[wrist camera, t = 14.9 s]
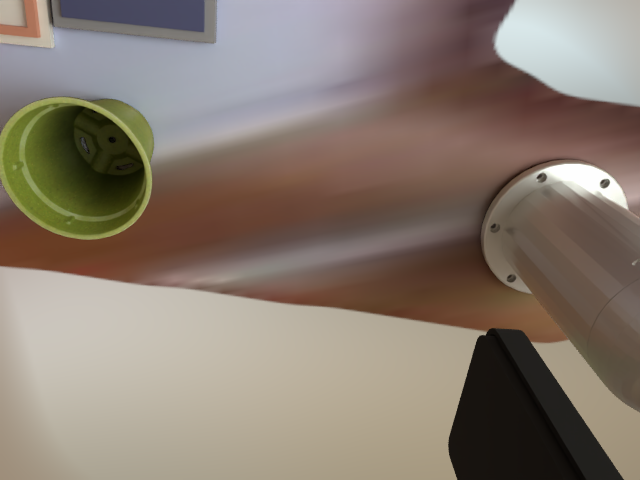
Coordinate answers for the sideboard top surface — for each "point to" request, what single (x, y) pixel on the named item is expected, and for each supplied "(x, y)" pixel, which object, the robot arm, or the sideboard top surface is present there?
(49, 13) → the cream flat square piece
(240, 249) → the sideboard top surface
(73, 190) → the plant pot
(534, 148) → the sideboard top surface
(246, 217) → the sideboard top surface
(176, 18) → the ink pad
